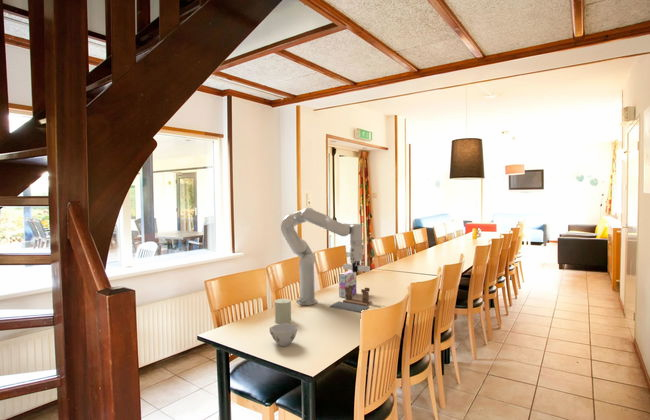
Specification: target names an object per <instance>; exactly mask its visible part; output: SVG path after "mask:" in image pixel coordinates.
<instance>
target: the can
mask: <svg viewBox="0 0 650 420" xmlns="http://www.w3.org/2000/svg"><path fill="white" fill-rule="evenodd" d="M274 322H275V323H276V324H277V325H279V324H283V323H288V324H290V323H291V322H292V300H291V299H290V298H278V299H275V300H274Z"/></svg>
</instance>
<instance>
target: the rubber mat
mask: <svg viewBox="0 0 650 420" xmlns="http://www.w3.org/2000/svg"><path fill="white" fill-rule="evenodd" d="M329 308H334V309H337V310H338V309H340V310H345V311H349V312H355V313H360V314H361V313H362V312H361V311H362V310H364V311H366V310H368V309H369V308H370V307H369V305H368V306H362V305H356V304H350V303H345V302H343V301H337V302H334V303H333V304H331V305H329ZM365 309H366V310H365Z"/></svg>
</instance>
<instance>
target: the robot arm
mask: <svg viewBox="0 0 650 420" xmlns="http://www.w3.org/2000/svg"><path fill="white" fill-rule="evenodd" d="M306 222H307V223H310V224H313V225H315V226H318V227H320V228H322V229H325V230H327V231H329V232H330V233H333V234H336V235H337V236H341V237H348V236H349V235H350V236H349V237H350V238H349V241H350V251H349V259H350V260H349V261H350V264H352V270H351V271H353V272H356V273H357V272H358V271H357V265H361V261H362V260H363V259H364V250H363V225H362V224H361V223H342V222H339V221H336V220H335V219H332V218H331V217H330V216H328V215H327V214H324V213H322V212H320V211H317V210H315V209H314V208H312V207H306V208H305V207H304V208H303V209H301V210H297V211H295V212H293V213H289V214H287V215H285V217H284V218H283V219H282V221H281V224H280V231H281V234H282V235H283V237H284V239H285V241H286V243H287V244H288V246H289V248H290V250H291V252H292V253H293V254H295V255H296V256H298V258H299V261H298V267H299V269H298V270H299V298H298V299H296V300H295V301H296V303H297V304H299V305H301V306H312V305H316V304H317V303H318V300H317V299H316V298H315V297H316V295H315V263H316V256H315V255H314V252H313V251H312V249H311V248H310V246H309V245H308V243H307V241H305V239H301V238H300V235H299V234H298V233H297V231H296V229H295V227H296V226H298V225H300V224H303V223H306Z"/></svg>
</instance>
